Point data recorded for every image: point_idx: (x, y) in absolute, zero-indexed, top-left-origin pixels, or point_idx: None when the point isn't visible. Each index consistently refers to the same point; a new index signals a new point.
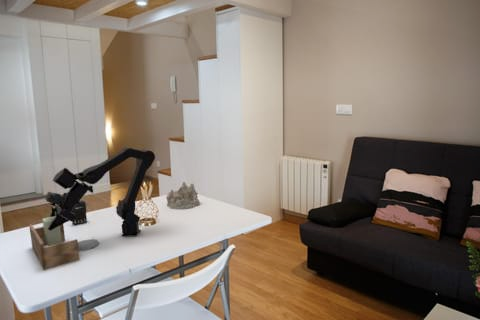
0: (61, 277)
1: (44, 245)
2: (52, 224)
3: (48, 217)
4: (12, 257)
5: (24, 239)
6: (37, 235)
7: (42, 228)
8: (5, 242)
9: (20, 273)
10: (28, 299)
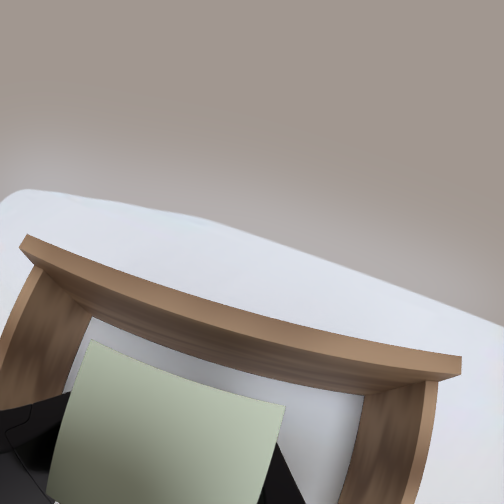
0: (4, 297)
1: (357, 435)
2: (56, 401)
3: (259, 488)
4: (331, 288)
5: (473, 380)
6: (155, 298)
7: (412, 440)
8: (481, 321)
9: (142, 243)
10: (16, 200)
